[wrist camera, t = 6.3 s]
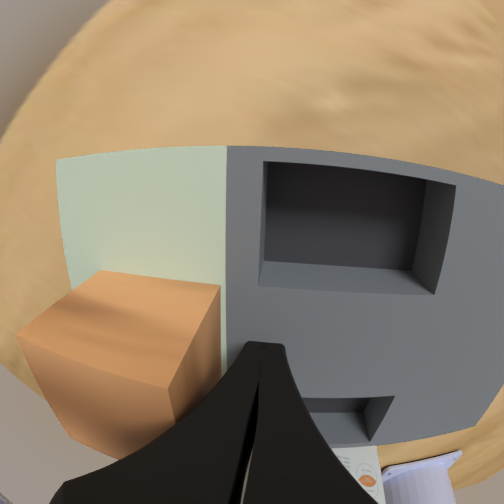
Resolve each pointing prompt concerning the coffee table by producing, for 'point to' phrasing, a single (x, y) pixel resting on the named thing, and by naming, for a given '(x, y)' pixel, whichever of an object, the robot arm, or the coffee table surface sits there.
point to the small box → (356, 469)
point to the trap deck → (316, 270)
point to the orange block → (126, 357)
